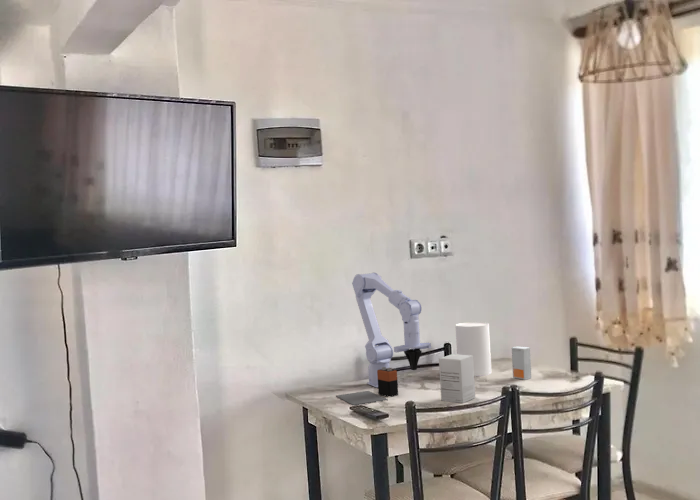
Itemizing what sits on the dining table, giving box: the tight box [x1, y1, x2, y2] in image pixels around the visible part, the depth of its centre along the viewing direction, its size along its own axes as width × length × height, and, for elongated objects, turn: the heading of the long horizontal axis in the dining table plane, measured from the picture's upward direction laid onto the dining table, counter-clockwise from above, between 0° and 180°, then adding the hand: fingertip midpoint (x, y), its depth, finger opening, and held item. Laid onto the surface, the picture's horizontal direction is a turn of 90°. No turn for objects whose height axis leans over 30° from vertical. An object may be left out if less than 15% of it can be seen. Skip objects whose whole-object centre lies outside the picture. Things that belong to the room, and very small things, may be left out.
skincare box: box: [511, 345, 532, 381], centre depth 281 cm, size 6×4×12 cm
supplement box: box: [438, 353, 476, 404], centre depth 251 cm, size 9×9×15 cm
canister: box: [455, 321, 492, 377], centre depth 296 cm, size 14×14×20 cm
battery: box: [377, 367, 399, 397], centre depth 265 cm, size 4×7×10 cm, turn 36°
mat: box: [335, 390, 388, 406], centre depth 261 cm, size 17×13×1 cm
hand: (413, 369), depth 269 cm, fingers closed
